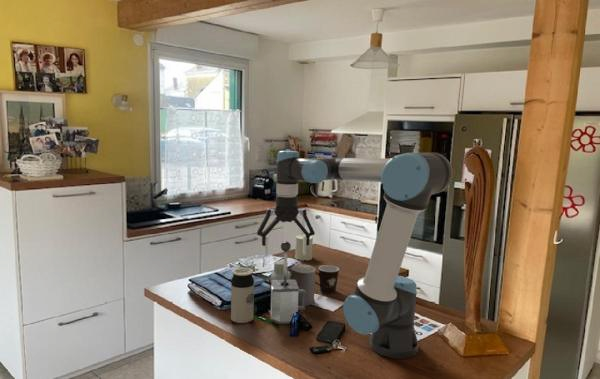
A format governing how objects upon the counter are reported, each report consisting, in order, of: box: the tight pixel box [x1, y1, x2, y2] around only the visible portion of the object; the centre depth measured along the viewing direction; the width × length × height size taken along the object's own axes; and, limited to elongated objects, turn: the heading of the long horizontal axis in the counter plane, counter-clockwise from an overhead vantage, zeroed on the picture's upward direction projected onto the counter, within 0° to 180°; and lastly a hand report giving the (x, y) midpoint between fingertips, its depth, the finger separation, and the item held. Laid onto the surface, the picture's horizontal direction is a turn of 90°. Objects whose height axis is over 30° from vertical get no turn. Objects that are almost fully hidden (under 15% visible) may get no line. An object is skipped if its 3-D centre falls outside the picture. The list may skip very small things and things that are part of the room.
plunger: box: [280, 240, 292, 286], centre depth 152 cm, size 7×7×18 cm
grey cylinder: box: [290, 264, 316, 307], centre depth 170 cm, size 10×10×15 cm
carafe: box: [269, 279, 306, 326], centre depth 155 cm, size 10×13×13 cm
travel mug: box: [230, 267, 255, 324], centre depth 153 cm, size 8×8×18 cm
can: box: [294, 234, 314, 262], centre depth 227 cm, size 9×9×12 cm
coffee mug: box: [315, 264, 340, 295], centre depth 182 cm, size 12×9×10 cm
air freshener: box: [270, 260, 291, 283], centre depth 188 cm, size 11×8×10 cm
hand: (285, 254), depth 152 cm, fingers open, 13 cm apart
